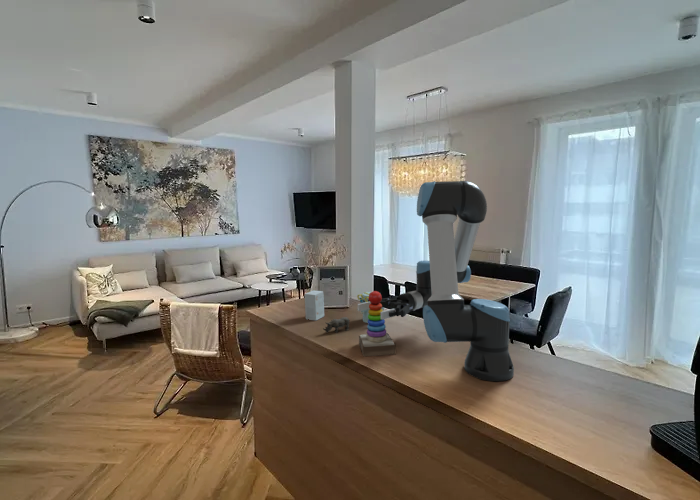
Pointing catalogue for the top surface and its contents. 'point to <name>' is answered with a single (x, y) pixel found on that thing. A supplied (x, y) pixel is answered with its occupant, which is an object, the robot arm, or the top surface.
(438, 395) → the top surface
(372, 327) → the stacking toy
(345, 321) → the rhino figurine
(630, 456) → the top surface
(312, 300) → the small box
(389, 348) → the pedestal
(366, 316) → the character sculpture
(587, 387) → the top surface
